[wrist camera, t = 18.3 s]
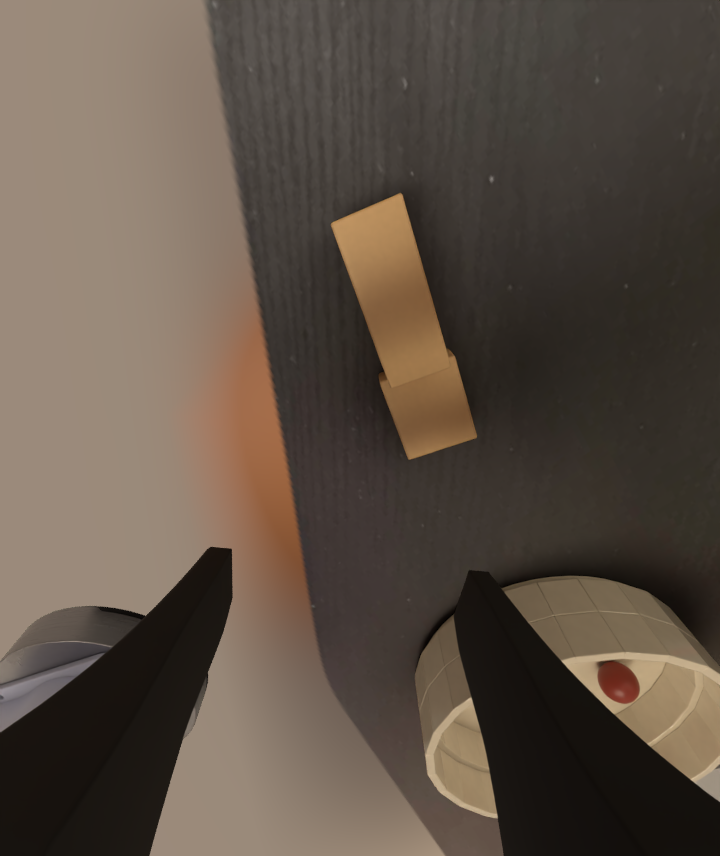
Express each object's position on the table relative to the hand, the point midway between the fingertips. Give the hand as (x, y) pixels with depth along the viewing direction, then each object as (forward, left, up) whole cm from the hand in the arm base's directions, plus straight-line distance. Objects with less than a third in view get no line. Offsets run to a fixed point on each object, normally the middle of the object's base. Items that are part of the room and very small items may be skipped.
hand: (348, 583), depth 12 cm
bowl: (+5, -20, -8) cm, 22 cm away
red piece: (+9, -20, -6) cm, 23 cm away
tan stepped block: (+4, +4, -8) cm, 10 cm away
